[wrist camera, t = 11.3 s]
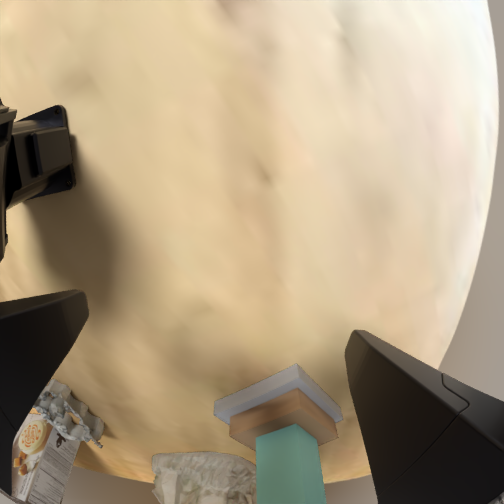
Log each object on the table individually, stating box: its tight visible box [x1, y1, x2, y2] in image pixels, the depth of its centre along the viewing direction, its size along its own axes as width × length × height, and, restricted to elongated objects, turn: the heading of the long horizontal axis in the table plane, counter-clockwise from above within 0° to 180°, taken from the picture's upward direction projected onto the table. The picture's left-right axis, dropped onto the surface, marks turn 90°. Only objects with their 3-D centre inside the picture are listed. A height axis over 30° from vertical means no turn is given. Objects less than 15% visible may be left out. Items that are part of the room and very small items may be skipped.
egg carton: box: [33, 379, 104, 448], centre depth 30 cm, size 11×8×4 cm
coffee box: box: [0, 414, 81, 504], centre depth 27 cm, size 9×6×16 cm
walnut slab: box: [229, 387, 338, 451], centre depth 28 cm, size 8×8×2 cm
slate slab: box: [214, 363, 343, 425], centre depth 30 cm, size 10×10×2 cm
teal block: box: [256, 424, 326, 504], centre depth 22 cm, size 4×4×11 cm
